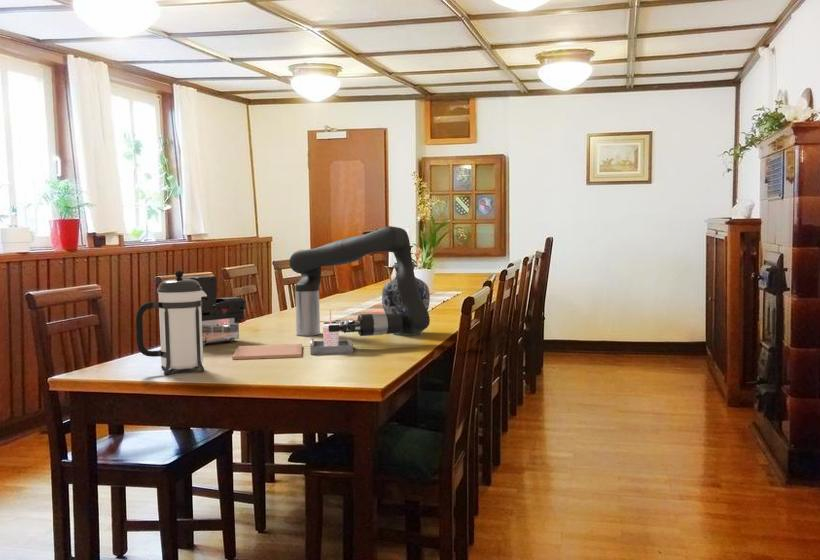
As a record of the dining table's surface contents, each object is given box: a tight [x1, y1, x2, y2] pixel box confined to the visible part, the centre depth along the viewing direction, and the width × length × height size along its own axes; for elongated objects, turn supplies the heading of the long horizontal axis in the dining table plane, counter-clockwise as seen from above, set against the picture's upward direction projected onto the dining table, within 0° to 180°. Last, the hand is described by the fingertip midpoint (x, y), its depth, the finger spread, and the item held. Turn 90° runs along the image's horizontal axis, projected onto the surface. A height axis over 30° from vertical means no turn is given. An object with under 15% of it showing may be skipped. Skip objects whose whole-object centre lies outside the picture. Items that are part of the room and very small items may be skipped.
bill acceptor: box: [181, 275, 246, 347], centre depth 286 cm, size 10×23×25 cm, turn 129°
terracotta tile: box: [231, 343, 303, 360], centre depth 262 cm, size 22×22×1 cm
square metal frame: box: [309, 337, 354, 356], centre depth 265 cm, size 14×14×4 cm
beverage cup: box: [321, 309, 340, 346], centre depth 264 cm, size 6×6×14 cm
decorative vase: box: [381, 261, 431, 337], centre depth 302 cm, size 21×19×28 cm
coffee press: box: [135, 270, 207, 376], centre depth 231 cm, size 17×16×30 cm
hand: (326, 327), depth 264 cm, fingers open, 8 cm apart
